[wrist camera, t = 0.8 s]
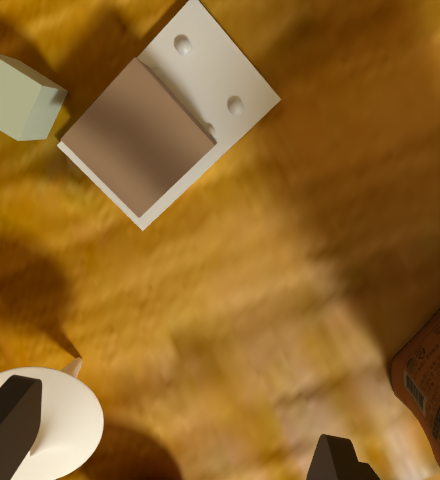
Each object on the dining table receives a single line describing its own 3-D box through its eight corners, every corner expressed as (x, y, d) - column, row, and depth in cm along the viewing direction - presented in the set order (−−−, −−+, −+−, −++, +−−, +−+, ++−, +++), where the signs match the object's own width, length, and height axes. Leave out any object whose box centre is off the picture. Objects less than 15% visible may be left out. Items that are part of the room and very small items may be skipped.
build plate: (194, -2, 29) (193, -7, 28) (280, 100, 31) (281, 99, 30) (61, 145, 32) (55, 145, 31) (144, 228, 34) (142, 231, 33)
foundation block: (147, 65, 30) (134, 56, 26) (217, 143, 31) (215, 145, 27) (81, 137, 31) (59, 139, 28) (150, 207, 33) (139, 218, 29)
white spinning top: (116, 305, 37) (61, 387, 25) (139, 398, 40) (100, 509, 28) (14, 318, 37) (-83, 402, 26) (45, 408, 40) (-31, 519, 29)
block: (19, 60, 31) (-16, 49, 26) (68, 91, 31) (42, 85, 27) (-2, 109, 32) (-39, 106, 28) (46, 139, 32) (17, 140, 28)
